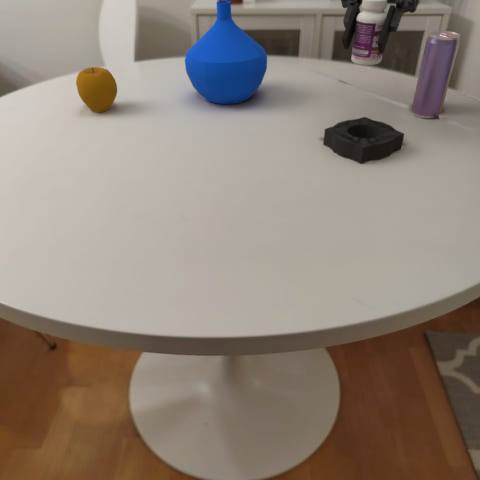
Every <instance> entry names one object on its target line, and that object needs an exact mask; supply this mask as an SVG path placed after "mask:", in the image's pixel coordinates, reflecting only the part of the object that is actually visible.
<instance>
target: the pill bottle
mask: <svg viewBox="0 0 480 480" xmlns="http://www.w3.org/2000/svg"><path fill="white" fill-rule="evenodd" d="M387 6H388V0H363V1H362V4H361V9H362V10H361V11H360V13H359V14H358V15H357V18H356V24H355V32H354V35H353V39H352V40H353V41H352V50H351V58H350V59H351V62H352V63H353V64H356V65H360V66H373V65H378V64H380V63H381V62H382V60H383V55H384V52H383V53H379V51H378V44H377V43H378V40H379V37H380V34H381V31H382V28H383V25H384V22H385V19H386V16H387V13H388V12H386V11H385V10H386V9H387Z"/></svg>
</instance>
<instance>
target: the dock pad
mask: <svg viewBox="0 0 480 480" xmlns="http://www.w3.org/2000/svg"><path fill="white" fill-rule="evenodd" d="M404 137H405V133H404V132H402V131H400V130H397V129H395V128H394V127H393V126H392V125H391V124H388V123H385V122H383V121H379V120H374V119H371V118H369V117H366V116H362V117H359V118H356V119H355V118H354V119H346V120H343V121H340V122H337V123H336V124H334V125H333V126H330V127H327V128H324V135H323V145H324V146H326V147H328V148H329V149H331V151H332V152H333V153H334V154H337V155H338V156H340V157H342V158H345V159H349V160H353V161H355V162H357V163H358V164H361V165H362V164H364V163H367V162H370V161H378V160H382V159H385V158H388V157H389V156H391V155H392V154H393V153H395V152H398V151H401V150H402V147H403V142H404Z"/></svg>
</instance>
